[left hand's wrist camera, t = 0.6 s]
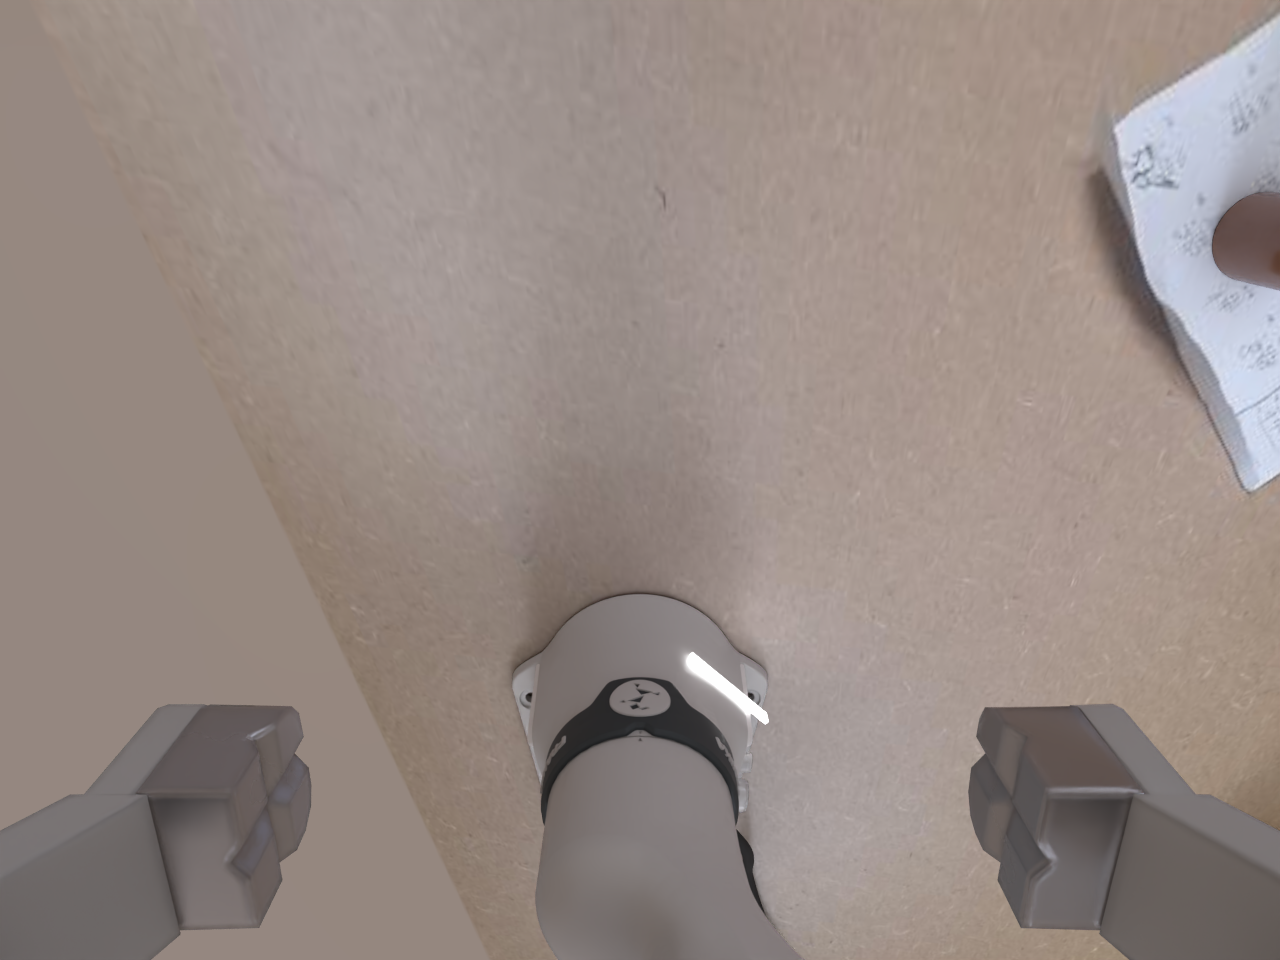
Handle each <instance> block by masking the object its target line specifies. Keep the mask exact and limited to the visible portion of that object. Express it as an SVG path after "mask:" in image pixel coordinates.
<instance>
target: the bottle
mask: <svg viewBox="0 0 1280 960" xmlns="http://www.w3.org/2000/svg"><path fill="white" fill-rule="evenodd" d="M1212 251H1213V257H1214V260H1215V262H1216V264H1217V266H1218V268H1219V269H1220V270H1221V271H1222V272H1223V273H1224V274H1225V275H1226V276H1228V277H1230V278H1232V279H1235V280H1238V281H1242V282H1246V283H1250V284H1254V285H1258V286H1262V287H1266V288H1271V289H1275V290H1279V291H1280V193H1277V192H1261V193H1256V194H1253V195H1250V196H1248V197H1246V198H1244V199H1242V200H1240V201H1239V202H1237V203H1236V204H1235V205H1233V206H1232V207H1231V208H1230V209H1229V210H1228V211H1227V212H1226V213H1225V215H1224V216H1223V217H1222V219H1221V220H1220V222H1219V224H1218V226H1217V228H1216V231H1215V233H1214V237H1213V244H1212Z"/></svg>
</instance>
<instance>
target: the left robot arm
mask: <svg viewBox="0 0 1280 960" xmlns="http://www.w3.org/2000/svg"><path fill="white" fill-rule="evenodd" d="M512 689H513V693H514V696H515V699H516V703H517V706H518V710H519V713H520V717H521V720H522V723H523V727H524V730H525V734H526V737H527V740H528V745H529V747H530V751H531V754H532V758H533V761H534V764H535V768H536V771H537V775H538V778H539V781H540V785H541V792H540V794H542V796H541V813H542V819H543V823H544V826H545V827H544V834H543V841H542V849H541V856H540V863H539V871H538V878H537V886H536V893H535V903H536V911H537V917H538V921H539V924H540V927H541V930H542V933H543V935H544V937H545V939H546V941H547V943H548V945H549V946H550V948H551V950H552V951H553V953H554V955H555V956H556V958H557V959H558V960H804V959H803V958H802V957H801V956H800V955H799V954H798V953H797V952H796V951H795V950H794V949H793V948H792V947H791V946H790V945H789V944H788V943H787V942H786V940H785V939H784V938H783V937H782V936H781V935H780V934H779V933H778V932H777V930H776V929H775V928H774V927H773V925H772V924H771V923H770V921H769V920H768V919H767V917H766V915H765V913H764V910H763V908H762V905H761V902H760V899H759V895H758V892H757V889H756V885H755V881H754V877H753V873H752V870H753V864H754V855H753V851H752V849H751V847H750V845H749V844H748V842H747V841H746V840H745V838H744V837H743V836H742V835H741V834H740V833H739V832H738V831H737V829H736V823H737V819H738V813H739V812H740V813H742V812H745V811H746V808H747V804H748V797H749V785H748V781H746V780H745V779H741V778H742V775H743V772H744V773H750V772H751V769H752V763H753V756H752V753H750V752H749V751H750V747H751V745H752V741H753V737H754V734H755V730H756V727H757V724H758V720H761V721H762V722H763V723H764V724H766V723H767V722H768V717H767V713H766V712H765V711H764V710H762V706H763V703H764V700H765V696H766V693H767V689H768V675H767V673H766V671H765V669H764V668H763V667H761V666H760V665H759V664H757V663H756V662H755V661H753V660H751V659H750V658H748V657H746V656H744V655H743V654H741V653H739V652H738V651H737V650H736V649H735V648H734V647H733V646H732V645H731V644H730V642H729V641H728V639H727V638H726V637H725V635H724V634H723V632H722V631H721V630H720V629H719V628H718V626H717V625H716V624H715V623H714V622H713V621H712V620H710V619H709V618H708V617H707V616H706V615H704V614H703V613H702V612H700V611H698V610H697V609H695V608H693V607H691V606H690V605H687V604H685V603H683V602H680V601H678V600H675V599H672V598H668V597H664V596H658V595H650V594H630V595H622V596H616V597H612V598H608V599H605V600H602V601H600V602H597V603H595V604H593V605H590V606H589V607H587V608H585V609H583V610H582V611H580V612H579V613H577V614H576V615H574V616H573V617H572V618H571V619H570V620H568V621H567V622H566V623H565V624H564V625H563V626H562V628H561V629H560V630H559V631H558V632H557V634H556V635H555V637H554V638H553V639H552V641H551V642H550V644H549V645H548V646H547V647H546V648H545V649H544V650H543V651H542V652H541V653H539V654H538V655H536V656H534V657H532V658H531V659H529V660H527V661H526V662H524V663H522V664H521V665H520V666H519V667H517V668H516V670H515V671H514V673H513V675H512ZM528 693H532V697H531V696H529V695H528ZM748 693H752V695H751V696H749V697H748ZM976 737H977V739H978V740H979V742H980V744H981V746H982V748H983V750H984V751H985V754H984V755H983V756H982V757H981V758H980V759H979V760H978V761H977V762H976V764H975V765H974V766H973V767H972V768H971V774H970V782H969V790H968V793H969V805H970V816H971V819H972V823H973V826H974V830H975V833H976V835H977V838H978V840H979V842H980V844H981V846H982V849H983V850H984V851H985V852H987V853H988V854H989V855H991V856H992V857H994V858H995V859H996V860H998V861H999V862H1001V864H1000V869H999V875H998V882H999V884H1000V886H1001V888H1002V890H1003V892H1004V894H1005V896H1006V898H1007V900H1008V902H1009V904H1010V906H1011V909H1012V911H1013V913H1014V915H1015V917H1016V919H1017V921H1018V923H1019V925H1020V927H1021V928H1039V929H1075V930H1100V933H1099V934H1100V935H1101V936H1102V937H1104V938H1105V939H1106V940H1107V941H1108V942H1109V943H1111V944H1112V945H1113V946H1114V947H1115V948H1116V949H1118V950H1119V951H1120V952H1121V953H1122V954H1123V955H1125V956H1126V957H1127V958H1128V959H1129V960H1280V831H1279V830H1277V829H1275V828H1273V827H1271V826H1269V825H1268V824H1266V823H1264V822H1262V821H1260V820H1258V819H1256V818H1254V817H1252V816H1250V815H1248V814H1246V813H1244V812H1242V811H1241V810H1239V809H1237V808H1235V807H1233V806H1231V805H1229V804H1227V803H1225V802H1223V801H1221V800H1219V799H1217V798H1215V797H1214V796H1212V795H1200V794H1195V793H1194V791H1193V790H1192V789H1191V788H1190V787H1189V786H1188V784H1187V783H1186V782H1185V781H1184V780H1183V779H1182V777H1181V776H1180V775H1179V774H1178V773H1177V772H1176V770H1175V769H1174V768H1173V767H1172V766H1171V765H1170V763H1169V762H1168V761H1167V760H1166V759H1165V757H1164V756H1163V755H1162V754H1161V753H1160V752H1159V750H1158V749H1157V748H1156V747H1155V746H1154V745H1153V743H1152V742H1151V741H1150V740H1149V739H1148V738H1147V736H1146V735H1145V734H1144V733H1143V732H1142V731H1141V729H1140V728H1139V727H1138V726H1137V725H1136V723H1135V722H1134V721H1133V720H1132V719H1131V718H1130V716H1129V715H1128V714H1127V713H1126V712H1125V711H1124V709H1122V708H1120V707H1118V706H1116V705H1114V704H1092V705H1070V706H1051V707H985V708H984V710H983V713H982V715H981V717H980V719H979V724H978V730H977V736H976ZM302 739H303V731H302V726H301V721H300V716H299V713H298V712H297V711H296V710H295V709H294V708H293V707H292V706H254V705H208V706H207V705H204V704H181V705H180V704H169V705H166V706H163V707H160V708H157V709H156V711H155V712H154V713H153V714H152V715H151V716H150V717H149V719H148V720H147V721H146V722H145V723H144V725H143V726H142V727H141V728H140V729H139V730H138V732H137V733H136V734H135V735H134V736H133V737H132V739H131V740H130V741H129V742H128V743H127V745H126V746H125V747H124V748H123V749H122V750H121V752H120V753H119V754H118V755H117V756H116V757H115V759H114V760H113V761H112V762H111V763H110V765H109V766H108V767H107V768H106V769H105V770H104V772H103V773H102V774H101V775H100V776H99V777H98V779H97V780H96V781H95V782H94V783H93V784H92V786H91V787H90V788H89V789H88V790H87V791H86V793H85V794H81V795H68V796H67V797H65V798H63V799H61V800H59V801H57V802H55V803H53V804H51V805H49V806H47V807H45V808H43V809H41V810H39V811H38V812H36V813H34V814H32V815H30V816H28V817H26V818H24V819H22V820H20V821H18V822H16V823H14V824H12V825H10V826H8V827H7V828H5V829H3V830H1V831H0V960H151V959H152V958H154V957H155V956H156V955H157V954H158V953H159V952H161V951H162V950H163V949H164V948H165V947H166V946H168V945H169V944H170V943H171V942H172V941H173V940H175V939H176V938H177V937H178V936H179V935H180V930H203V929H239V928H259V927H260V925H261V923H262V921H263V919H264V917H265V915H266V913H267V911H268V909H269V907H270V905H271V902H272V900H273V898H274V896H275V894H276V892H277V890H278V888H279V886H280V884H281V882H282V875H281V869H280V864H279V862H281V861H282V860H284V859H285V858H286V857H288V856H289V855H291V854H292V853H293V852H295V851H296V850H297V849H298V846H299V844H300V842H301V840H302V837H303V835H304V833H305V831H306V827H307V822H308V817H309V812H310V808H311V780H310V773H309V768H308V767H307V766H306V765H305V764H304V763H303V761H302V760H301V759H300V758H298V756H297V755H296V754H295V751H296V750H297V748H298V746H299V744H300V742H301V740H302ZM741 854H742V856H741ZM742 857H743V860H742Z"/></svg>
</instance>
